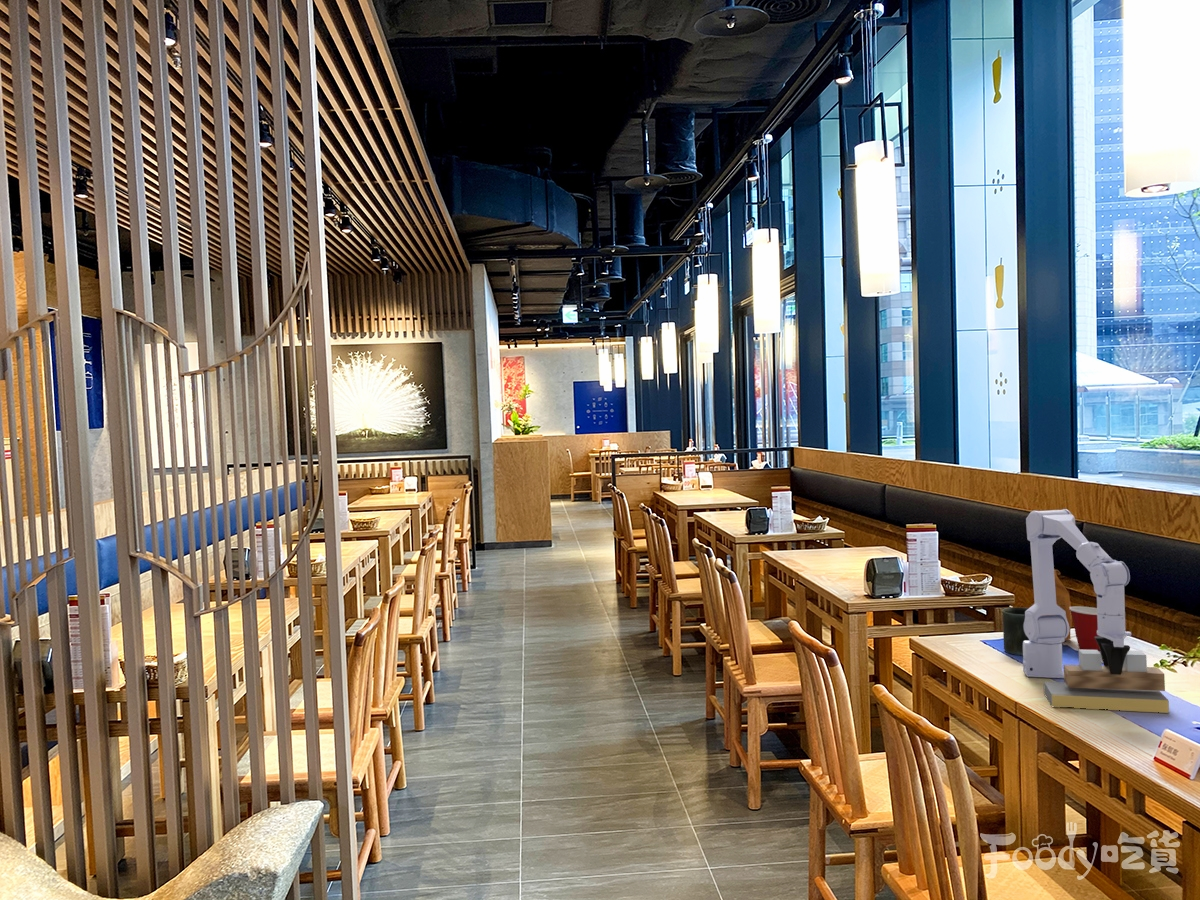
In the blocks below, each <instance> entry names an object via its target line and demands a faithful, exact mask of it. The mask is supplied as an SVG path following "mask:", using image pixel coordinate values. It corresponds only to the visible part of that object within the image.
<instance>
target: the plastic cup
mask: <svg viewBox="0 0 1200 900" xmlns="http://www.w3.org/2000/svg"><path fill="white" fill-rule="evenodd" d="M1069 610H1070V612H1071V619H1072V621H1073V622H1072V624H1073V627H1074V632H1075V637H1076V640H1077V647H1078V649H1079V648H1080V649H1083V650H1098V651H1099V652H1101V651H1100V648H1099V646H1098V643H1097V641H1096V640H1095V638H1094V637H1095V636H1099V635H1097V630H1098V622H1097V607H1091V606H1090V607H1089V606H1081V605H1080V606H1070V608H1069Z"/></svg>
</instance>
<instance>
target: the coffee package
mask: <svg viewBox="0 0 1200 900" xmlns="http://www.w3.org/2000/svg"><path fill="white" fill-rule="evenodd" d="M1060 575H1061V572H1060V571H1059V570H1058V569H1055V568H1054V577H1055V591H1056V604H1057V605H1058V606H1059V607H1060V608H1062V609H1063V610H1064V611H1065V612H1066V618H1067V621H1068V623H1069V634H1068V636H1067V637H1066V638H1065V641H1066V640H1071V629H1072V625H1073V622H1072V621H1073V619H1072V615H1071V611H1070V610H1069V608H1070V607H1071V602H1070V601H1071V599H1070V593H1069V591H1068V590H1067V588H1066V586H1065V585H1064V584H1063V583H1062V581H1061V580H1060V579H1059V577H1058V576H1060ZM1043 616H1053V615H1043Z"/></svg>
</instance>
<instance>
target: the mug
mask: <svg viewBox="0 0 1200 900" xmlns="http://www.w3.org/2000/svg"><path fill="white" fill-rule="evenodd" d="M1029 608H1030V607H1022V606H1021V607H1019V606H1017V607H1016V606H1015V607H1005V608H1002V609H1001V610H1000V611H1001V612H1000V613H1002V625H1003V626H1002V631H1003V635H1002V637H1003V649H1004V651H1005V652H1006V653H1008V654H1010V655H1011V654H1012V655H1018V656H1023V641H1027V640H1029V638H1028V637H1027V636H1026V634H1025V632H1024V621H1025V611H1026V610H1027V609H1029Z"/></svg>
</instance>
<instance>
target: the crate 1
mask: <svg viewBox="0 0 1200 900" xmlns="http://www.w3.org/2000/svg"><path fill="white" fill-rule="evenodd" d="M1102 663H1103V662H1102V655H1101V651H1098V650H1083V649H1079V648H1078V665H1079V666H1080V667H1081V669H1082V670H1091V671H1102V666H1103V665H1102Z"/></svg>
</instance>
